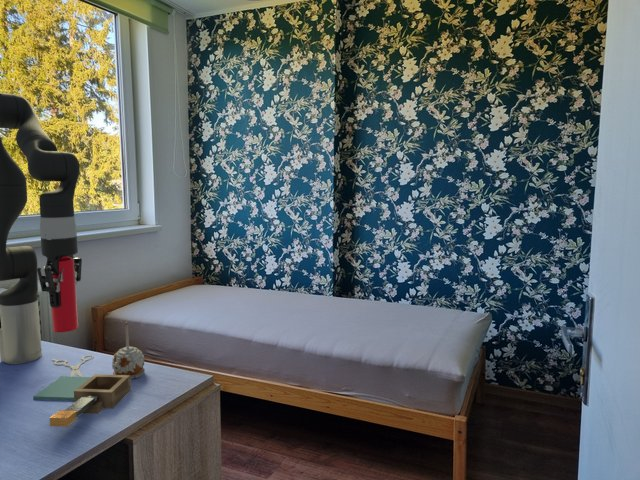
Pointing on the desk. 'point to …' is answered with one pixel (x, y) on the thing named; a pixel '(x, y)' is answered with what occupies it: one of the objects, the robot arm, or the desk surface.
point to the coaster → (61, 389)
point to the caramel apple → (128, 360)
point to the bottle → (66, 298)
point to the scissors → (74, 368)
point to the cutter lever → (72, 411)
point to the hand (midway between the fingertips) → (63, 303)
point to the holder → (104, 391)
